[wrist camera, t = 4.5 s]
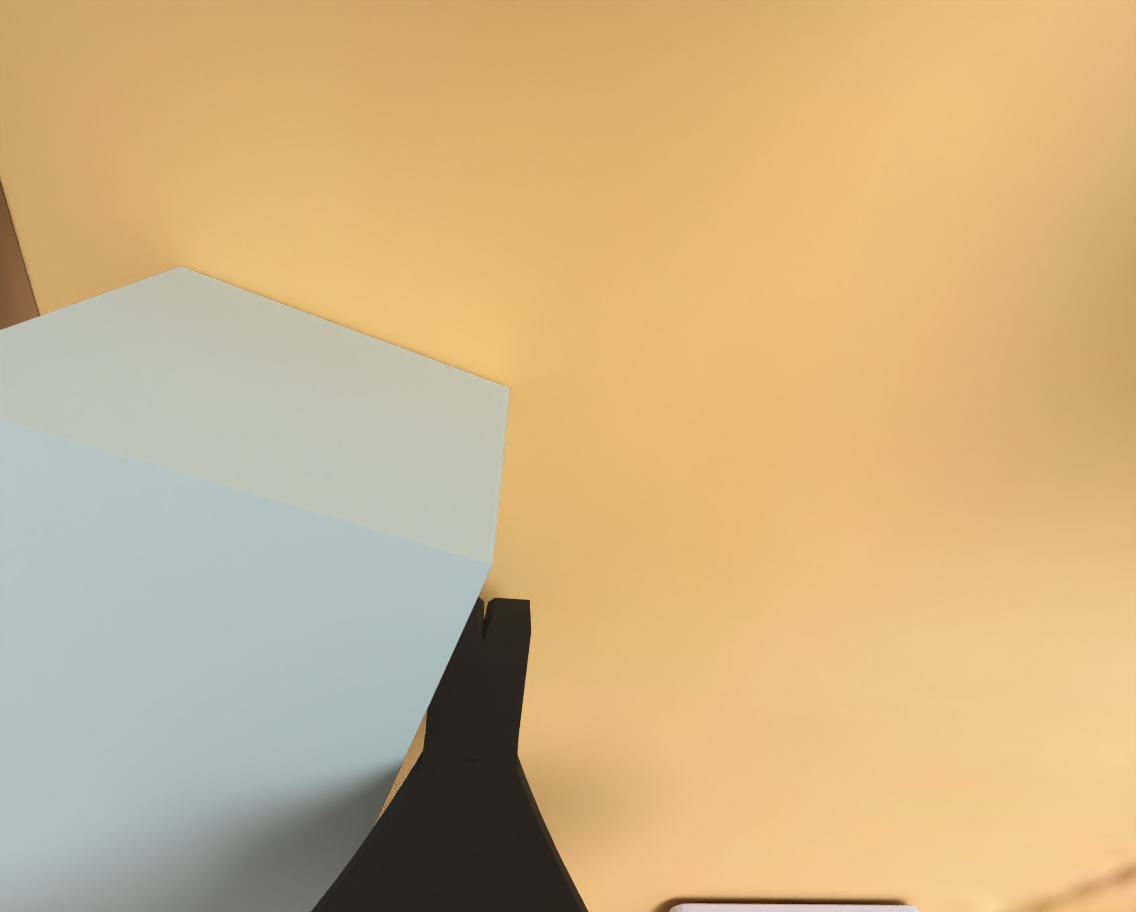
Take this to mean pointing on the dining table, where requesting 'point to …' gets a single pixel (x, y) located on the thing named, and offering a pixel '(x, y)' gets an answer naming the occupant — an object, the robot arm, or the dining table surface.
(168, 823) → the block
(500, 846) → the robot arm
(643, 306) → the dining table surface
